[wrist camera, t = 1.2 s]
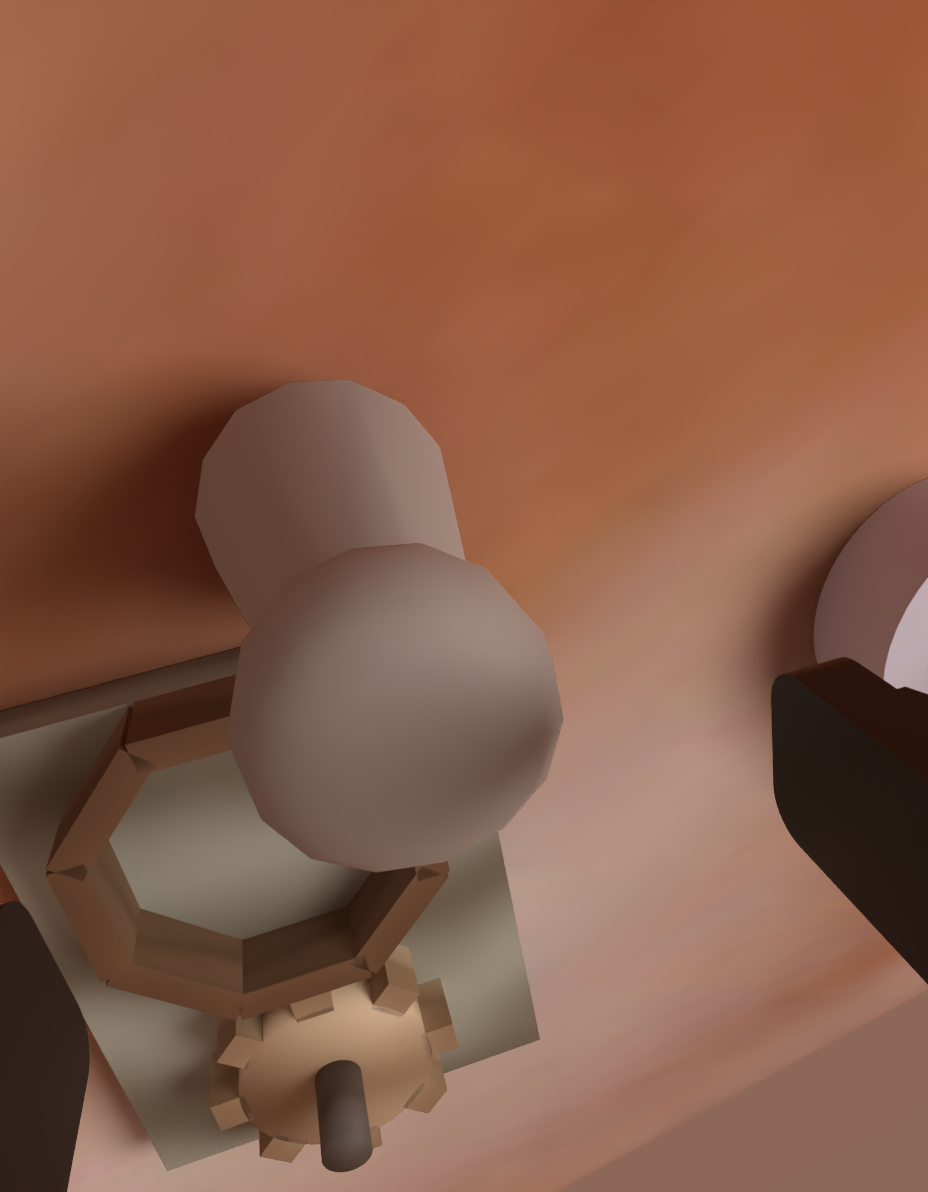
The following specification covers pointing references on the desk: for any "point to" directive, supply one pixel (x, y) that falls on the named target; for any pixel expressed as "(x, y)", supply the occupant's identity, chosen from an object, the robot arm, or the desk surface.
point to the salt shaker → (368, 636)
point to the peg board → (243, 931)
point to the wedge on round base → (881, 594)
